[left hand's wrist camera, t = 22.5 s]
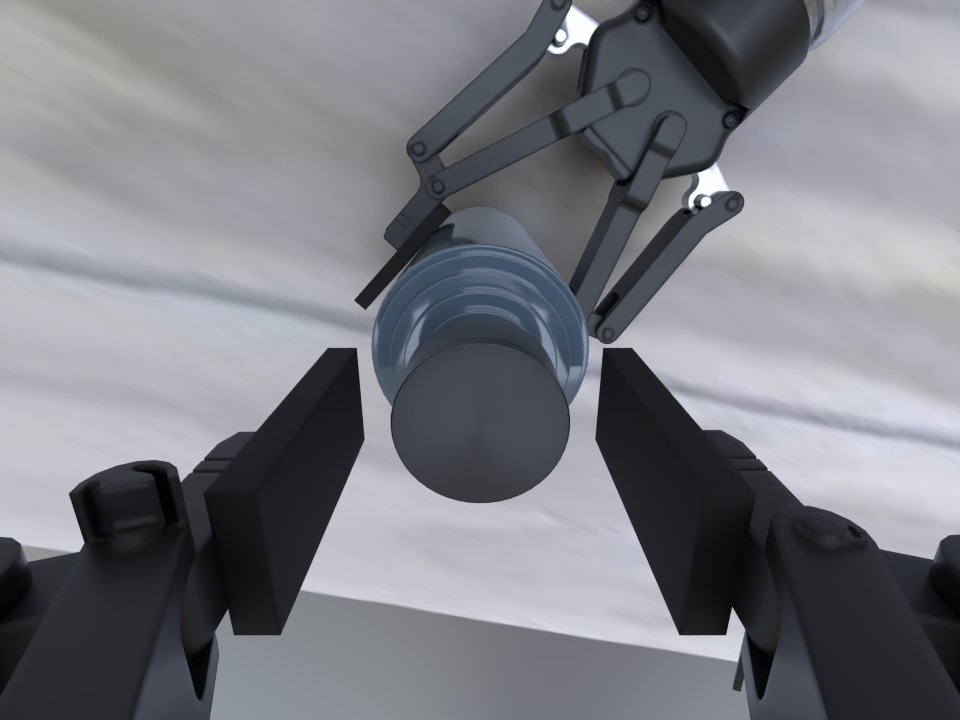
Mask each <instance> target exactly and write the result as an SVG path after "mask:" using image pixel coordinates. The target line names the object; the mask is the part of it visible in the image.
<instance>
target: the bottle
mask: <svg viewBox="0 0 960 720" xmlns="http://www.w3.org/2000/svg"><path fill="white" fill-rule="evenodd" d="M480 317H483V318H494V319H498V320H503V321H506V322H509V323H512V324H514V325H516V326H518V327H520V328H522V329H523V330H525V331H526V332H528V333H529V334H531V335H532V336H533V337H534V338H535V339H536V340H537V341H538V342H539V343H540V344H541V345H542V346H543V348H544V349H545V350H546V352H547V353H548V355H549V357H550V359H551V361H552V363H553V365H554V368H555V371H556V373H557V376H558V379H559V381H560V384H561V386H562V389H563V392H564V394H565V397H566V400H567V404H568V406H569V405H570V404H571V402H572V401H573V399H574V398H575V396H576V394H577V392H578V391H579V389H580V386H581V384H582V381H583V379H584V376H585V372H586V368H587V364H588V355H589V336H588V330H587V324H586V321H585V318H584V315H583V311H582V309H581V307H580V305H579V303H578V301H577V299H576V297H575V295H574V294H573V292H572V291H571V289H570V288H569V286H568V285H567V284H566V282H565V281H564V280H563V278H562V277H561V276H560V274H559V273H558V272H557V271H556V269H555V268H554V267H553V265H552V264H551V263H550V261H549V260H548V259H547V258H546V256H545V255H544V254H543V252H542V251H541V250H540V248H539V247H538V246H537V244H536V243H535V242H534V241H533V239H532V238H531V237H530V235H529V234H528V233H527V231H526V230H525V229H524V228H523V226H522V225H521V224H520V223H519V222H518V221H517V220H516V219H514V218H513V217H512V216H510V215H509V214H507V213H505V212H503V211H501V210H498V209H494V208H490V207H470V208H466V209H462V210H460V211H457V212H455V213H454V214H452V215H450V216H449V217H448V218H447V219H446V220H445V221H444V222H443V223H442V225H441V226H440V227H439V228H438V229H437V230H436V231H435V232H434V233H433V235H432V236H431V237H430V238H429V239H428V240H427V241H426V243H425V244H424V245H423V246H422V248H421V249H420V250H419V252H418V253H417V254H416V256H415V257H414V258H413V260H412V261H411V262H410V264H409V265H408V266H407V268H406V269H405V270H404V271H403V273H402V274H401V275H400V277H399V278H398V279H397V281H396V282H395V283H394V285H393V286H392V287H391V289H390V290H389V291H388V293H387V295H386V296H385V298H384V300H383V302H382V303H381V306H380V308H379V311H378V313H377V316H376V319H375V323H374V327H373V333H372V343H371V345H372V360H373V365H374V371H375V374H376V377H377V380H378V383H379V385H380V387H381V389H382V391H383V393H384V395H385V397H386V398H387V400H388V401H389V403H390V405H391V406H392V407H393V403H394V400H395V397H396V394H397V391H398V388H399V386H400V383H401V380H402V378H403V375H404V372H405V370H406V367H407V364H408V362H409V360H410V358H411V356H412V354H413V353H414V351H415V350H416V348H417V347H418V346H419V345H420V344H421V343H422V341H423V340H424V339H425V338H427V337H428V336H429V335H430V334H431V333H433V332H434V331H436V330H437V329H439V328H441V327H443V326H445V325H447V324H449V323H452V322H455V321H458V320H462V319H468V318H480Z"/></svg>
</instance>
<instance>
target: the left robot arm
mask: <svg viewBox="0 0 960 720" xmlns="http://www.w3.org/2000/svg"><path fill="white" fill-rule="evenodd" d="M363 442H364V427H363V415H362V404H361V392H360V381H359V369H358V358H357V348H328V349H327V350H326V351H325V352H324V353H323V354H322V356H321V357H320V358H319V359H318V360H317V361H316V363H315V364H314V365H313V366H312V367H311V368H310V370H309V371H308V372H307V373H306V374H305V375H304V377H303V378H302V379H301V380H300V381H299V382H298V384H297V385H296V386H295V387H294V388H293V389H292V391H291V392H290V393H289V394H288V395H287V396H286V398H285V399H284V400H283V401H282V402H281V403H280V405H279V406H278V407H277V408H276V409H275V410H274V412H273V413H272V414H271V415H270V416H269V417H268V419H267V420H266V421H265V422H264V423H263V424H262V426H261V427H260V428H259V429H258V430H257V431H256V432H238V433H236V434H235V435H233V436H231V437H229V438H228V439H226V440H224V441H222V442H221V443H219V444H217V445H216V447H215V448H214V449H213V450H212V451H211V452H210V453H209V454H208V455H207V456H206V457H205V458H204V461H201V462H200V463H199V464H198V465H197V466H196V467H195V468H194V469H193V473H190V474H189V475H188V476H187V477H186V478H185V479H184V480H183V481H182V482H181V483H180V479H179V474H178V470H177V468H176V467H175V466H174V465H172V464H171V463H169V462H164V461H158V460H148V461H136V462H132V463H127V464H123V465H118V466H115V467H112V468H110V469H107V470H104V471H102V472H99V473H97V474H95V475H93V476H91V477H90V478H88V479H86V480H84V481H83V482H81V483H79V484H78V485H77V486H76V487H75V488H74V489H73V490H72V491H71V492H70V493H69V496H70V499H71V502H72V505H73V508H74V511H75V515H76V518H77V521H78V524H79V527H80V530H81V533H82V536H83V539H84V542H85V543H84V545H83V547H82V549H81V551H80V552H77V553H72V554H67V555H62V556H57V557H52V558H47V559H42V560H37V561H32V562H27V560H26V557H25V555H24V552H23V549H22V547H21V544H20V543H19V542H17V541H16V540H14V539H13V538H6V537H0V720H210V713H211V707H212V700H213V693H214V686H215V679H216V672H217V666H218V659H219V650H218V642H217V638H216V634H215V631H216V629H217V627H218V625H219V624H220V622H221V620H222V618H223V617H224V615H225V613H226V611H227V610H228V609H229V614H230V619H231V623H232V628H233V633H234V635H281V633H282V630H283V628H284V625H285V623H286V621H287V619H288V616H289V614H290V612H291V609H292V607H293V605H294V602H295V600H296V598H297V595H298V593H299V591H300V588H301V586H302V584H303V581H304V579H305V577H306V574H307V572H308V570H309V567H310V565H311V563H312V560H313V558H314V556H315V553H316V551H317V549H318V547H319V544H320V542H321V540H322V537H323V535H324V533H325V530H326V528H327V526H328V523H329V521H330V519H331V516H332V514H333V512H334V509H335V507H336V505H337V502H338V500H339V498H340V495H341V493H342V491H343V488H344V486H345V484H346V481H347V479H348V477H349V474H350V472H351V470H352V467H353V465H354V463H355V460H356V458H357V456H358V453H359V451H360V449H361V446H362V444H363ZM596 442H597V444H598V446H599V449H600V451H601V453H602V456H603V458H604V460H605V463H606V465H607V467H608V470H609V472H610V474H611V477H612V479H613V481H614V484H615V486H616V488H617V491H618V493H619V495H620V498H621V500H622V502H623V505H624V507H625V509H626V512H627V514H628V516H629V519H630V521H631V523H632V526H633V528H634V530H635V533H636V535H637V537H638V540H639V542H640V544H641V547H642V549H643V551H644V553H645V556H646V558H647V560H648V563H649V565H650V567H651V570H652V572H653V574H654V577H655V579H656V581H657V584H658V586H659V588H660V591H661V593H662V595H663V598H664V600H665V602H666V605H667V607H668V609H669V612H670V614H671V616H672V619H673V621H674V623H675V626H676V628H677V630H678V633H679V635H726V633H727V628H728V623H729V619H730V614H731V610H732V607H733V609H734V610H735V612H736V614H737V616H738V617H739V619H740V621H741V623H742V624H743V626H744V628H745V634H744V638H743V642H742V647H741V651H740V655H739V660H738V664H737V668H736V673H735V677H734V684H733V690H736V691H741V687H742V683H743V679H745V685H746V692H747V698H748V705H749V712H750V719H751V720H960V535H949V536H948V537H946V538H945V539H943V540H941V541H940V544H939V547H938V549H937V552H936V555H935V557H934V560H931V559H926V558H921V557H916V556H911V555H906V554H901V553H896V552H891V551H886V550H882V549H879V548H878V546H877V544H876V542H875V541H874V540H873V539H872V538H871V537H870V535H869V534H868V533H867V532H866V531H865V530H864V529H862V528H861V527H859V526H858V525H856V524H855V523H853V522H852V521H850V520H849V519H846V518H844V517H842V516H840V515H837V514H835V513H833V512H831V511H827V510H823V509H819V508H815V507H812V506H804V505H803V504H802V503H801V502H800V501H799V500H798V499H797V498H796V497H795V496H794V495H793V494H792V493H791V492H790V491H789V490H788V489H787V488H786V487H785V486H784V485H783V484H782V483H781V482H780V481H779V479H778V478H777V477H776V476H775V475H774V474H773V473H772V472H771V471H768V470H767V467H766V466H765V465H764V464H763V463H762V462H761V461H760V460H759V459H756V456H755V455H754V454H753V453H752V452H751V451H750V449H749V448H748V447H747V446H746V445H745V444H744V443H743V442H741V441H739V440H738V439H736V438H734V437H732V436H731V435H729V434H727V433H725V432H723V431H722V430H702V429H701V428H700V427H699V426H698V424H697V423H696V422H695V421H694V420H693V419H692V417H691V416H690V415H689V414H688V413H687V412H686V410H685V409H684V408H683V407H682V406H681V405H680V403H679V402H678V401H677V400H676V399H675V398H674V396H673V395H672V394H671V393H670V392H669V391H668V389H667V388H666V387H665V386H664V385H663V384H662V382H661V381H660V380H659V379H658V378H657V377H656V375H655V374H654V373H653V372H652V371H651V370H650V368H649V367H648V366H647V365H646V364H645V363H644V361H643V360H642V359H641V358H640V357H639V356H638V354H637V353H636V352H635V351H634V350H633V349H632V348H603V358H602V369H601V381H600V392H599V404H598V415H597V427H596Z"/></svg>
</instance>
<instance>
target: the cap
mask: <svg viewBox="0 0 960 720" xmlns="http://www.w3.org/2000/svg"><path fill="white" fill-rule="evenodd" d="M569 431H570V415H569V407H568V404H567V400H566V397H565V394H564V392H563V389H562V386H561V384H560V381H559V379H558V376H557V373H556V371H555V368H554V365H553V363H552V361H551V359H550V357H549V355H548V353H547V352H546V350H545V349H544V348H543V346H542V345H541V344H540V343H539V342H538V341H537V340H536V339H535V338H534V337H533V336H532V335H531V334H529V333H528V332H526V331H525V330H523V329H522V328H520V327H518V326H516V325H514V324H512V323H509V322H506V321H503V320H498V319H494V318H483V317H480V318H468V319H462V320H458V321H455V322H452V323H449V324H447V325H445V326H443V327H441V328H439V329H437V330H436V331H434V332H433V333H431V334H430V335H429V336H428V337H427V338H425V339H424V340H423V341H422V343H421V344H420V345H419V346H418V347H417V348H416V350H415V351H414V353H413V354H412V356H411V358H410V360H409V362H408V364H407V367H406V370H405V372H404V375H403V378H402V380H401V383H400V386H399V388H398V391H397V394H396V397H395V400H394V403H393V407H392V412H391V433H392V438H393V442H394V446H395V448H396V451H397V453H398V455H399V457H400V459H401V461H402V462H403V464H404V466H405V467H406V468H407V469H408V471H409V472H410V473H411V474H412V475H413V476H414V477H415V478H416V479H417V480H418V481H419V482H421V483H422V484H423V485H425V486H426V487H427V488H429V489H431V490H432V491H434V492H436V493H438V494H440V495H443V496H445V497H447V498H451V499H454V500H458V501H463V502H469V503H491V502H498V501H503V500H507V499H510V498H513V497H516V496H518V495H521V494H523V493H525V492H527V491H528V490H530V489H532V488H533V487H535V486H536V485H538V484H539V483H540V482H541V481H542V480H544V479H545V478H546V477H547V476H548V475H549V474H550V473H551V471H552V470H553V469H554V468H555V466H556V465H557V463H558V462H559V460H560V459H561V457H562V454H563V452H564V450H565V448H566V444H567V441H568V437H569Z"/></svg>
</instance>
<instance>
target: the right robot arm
mask: <svg viewBox="0 0 960 720" xmlns="http://www.w3.org/2000/svg"><path fill="white" fill-rule="evenodd" d="M865 1H866V0H635V1H634V3H633V4H632V5H631V6H630V7H629V8H628V9H627V10H626V11H625V12H624V13H622V14H621V15H619V16H617V17H615V18H612V19H609V20H606V21H604V22H603V23H601V24H599V23H597V22H596V21H594V20H593V19H592V18H590V17H589V16H588V15H586V14H585V13H583V12H582V11H581V10H579V9H578V8H577V7H575V6H574V5H572V0H543V1H542V3H541V5H540V7H539V9H538V11H537V13H536V14H535V16H534V18H533V20H532V22H531V24H530V25H529V27H528V29H527V31H526V32H525V33H524V34H523V35H522V36H521V37H520V38H519V39H518V40H517V41H515V42H514V43H513V44H512V45H511V46H510V47H509V48H508V49H507V50H506V51H505V52H504V53H502V54H501V55H500V56H499V57H498V58H497V59H496V60H495V61H494V62H493V63H492V64H491V65H489V66H488V67H487V68H486V69H485V70H484V71H483V72H482V73H481V74H480V75H479V76H478V77H476V78H475V79H474V80H473V81H472V82H471V83H470V84H469V85H468V86H467V87H466V88H465V89H463V90H462V91H461V92H460V93H459V94H458V95H457V96H456V97H455V98H454V99H453V100H452V101H450V102H449V103H448V104H447V105H446V106H445V107H444V108H443V109H442V110H441V111H440V112H438V113H437V114H436V115H435V116H434V117H433V118H432V119H431V120H430V121H429V122H428V123H427V124H425V125H424V126H423V127H422V128H421V129H420V130H419V131H418V132H417V133H416V134H415V135H414V136H412V137H411V138H410V140H409V141H408V143H407V147H406V148H407V153H408V155H409V157H410V158H411V159H412V161H413V163H414V165H415V167H416V169H417V171H418V173H419V176H420V180H421V183H420V188H419V190H418V192H417V193H416V194H415V195H414V197H413V198H412V199H411V200H410V201H409V202H408V204H407V205H406V206H405V207H404V208H403V209H402V211H401V212H400V213H399V214H398V215H397V216H396V218H395V219H394V220H393V221H392V222H391V223H390V225H389V226H388V227H387V229H386V232H385V235H384V239H385V240H387V241H388V242H389V243H390V244H391V245H392V246H393V247H394V248H395V249H396V250H398V251H397V252H396V253H395V254H394V256H393V257H392V258H391V259H390V260H389V261H388V262H387V264H386V265H385V266H384V267H383V268H382V269H381V270H380V271H379V273H378V274H377V275H376V276H375V277H374V278H373V279H372V281H371V282H370V283H369V284H368V285H367V286H366V287H365V289H364V290H363V291H362V292H361V293H360V294H359V295H358V297H357V298H356V299H355V300H354V301H356V302H357V303H358V304H359V305H360V306H361V307H363V308H364V309H365V310H366V309H367V308H368V307H369V305H370V304H371V303H372V302H373V301H374V300H375V299H376V298H377V296H378V295H379V294H380V293H381V292H382V291H383V290H384V289H385V287H386V286H387V285H388V284H389V283H390V282H391V281H392V280H393V278H394V277H395V276H396V275H397V274H398V273H399V272H400V271H401V269H402V268H403V267H404V266H405V265H406V264H407V263H408V262H409V260H410V259H411V258H412V257H413V256H414V255H415V254H416V253H417V251H418V250H419V249H420V248H421V247H422V246H423V245H424V244H425V242H426V241H427V240H428V239H429V238H430V237H431V236H432V235H433V233H434V232H435V231H436V230H437V229H438V228H439V227H440V226H441V225H442V223H443V222H444V221H445V220H446V219H447V218H448V217H449V215H450V214H451V211H450V210H449V209H448V208H446V207H445V206H444V205H443V204H442V202H443V201H444V200H445V198H446V197H448V196H450V195H452V194H454V193H456V192H458V191H460V190H461V189H463V188H465V187H467V186H469V185H471V184H473V183H475V182H477V181H479V180H481V179H483V178H485V177H487V176H489V175H491V174H493V173H495V172H497V171H499V170H501V169H503V168H505V167H507V166H509V165H511V164H513V163H515V162H517V161H519V160H521V159H523V158H525V157H527V156H529V155H531V154H533V153H535V152H537V151H539V150H541V149H543V148H545V147H547V146H549V145H551V144H553V143H554V142H556V141H558V140H560V139H563V138H565V137H567V136H569V135H571V134H573V133H575V132H576V133H577V134H576V135H575V136H576V137H577V138H578V140H579V141H580V142H581V143H582V144H583V145H584V146H585V147H587V148H588V149H590V150H591V151H593V152H595V153H596V154H598V155H599V157H600V159H601V161H602V163H603V165H604V167H605V169H606V170H607V171H608V172H609V173H610V174H611V175H612V177H613V178H614V179H615V182H614V184H613V186H612V188H611V191H610V193H609V196H608V202H607V204H606V206H605V208H604V211H603V213H602V215H601V217H600V219H599V221H598V223H597V226H596V228H595V230H594V232H593V234H592V236H591V238H590V240H589V243H588V245H587V247H586V249H585V251H584V253H583V255H582V258H581V260H580V262H579V264H578V266H577V268H576V270H575V273H574V275H573V277H572V279H571V281H570V283H569V285H568V286H569V288H570V289H571V291H572V292H573V294H574V295H575V297H576V299H577V301H578V303H579V305H580V307H581V309H582V311H583V315H584V318H585V321H586V324H587V330H588V335H589V336H591V337H594V338H596V339H598V340H599V341H600V342H602V343H604V344H610V343H613V342H614V341H615V340H617V338H618V337H619V336H620V335H621V334H622V333H623V331H624V330H625V329H626V328H627V327H628V325H629V324H630V323H631V322H632V321H633V320H634V318H635V317H636V316H637V315H638V314H639V313H640V311H641V310H642V309H643V308H644V307H645V305H646V304H647V303H648V302H649V301H650V300H651V298H652V297H653V296H654V295H655V294H656V293H657V291H658V290H659V289H660V288H661V287H662V285H663V284H664V283H665V282H666V281H667V280H668V278H669V277H670V276H671V275H672V274H673V273H674V271H675V270H676V269H677V268H678V267H679V265H680V264H681V263H682V262H683V261H684V260H685V258H686V257H687V256H688V255H689V254H690V253H691V251H692V250H693V249H694V248H695V247H696V246H697V244H698V243H699V242H700V241H701V240H702V238H703V237H704V236H705V235H706V234H707V233H709V232H710V231H712V230H713V229H715V228H717V227H718V226H720V225H721V224H723V223H724V222H726V221H728V220H729V219H731V218H732V217H734V216H735V215H737V214H738V213H739V212H740V211H741V210H742V208H743V206H744V198H743V196H742V195H741V194H740V193H739V192H736V191H730V190H729V188H728V186H727V184H726V182H725V180H724V178H723V176H722V174H721V172H720V170H719V168H718V166H717V164H716V161H717V160H718V158H719V157H720V155H721V152H722V149H723V147H724V144H725V142H726V140H727V139H728V137H729V136H730V134H731V133H732V132H733V131H734V130H735V129H736V128H737V127H738V126H739V125H740V124H741V123H742V122H743V121H744V120H745V119H746V118H747V117H748V116H749V115H750V114H751V113H752V112H753V111H754V110H755V109H756V108H758V107H759V106H760V105H761V104H762V103H763V102H764V101H765V100H766V99H767V98H768V97H769V96H770V95H771V94H772V93H773V92H774V91H775V90H776V89H777V88H778V87H779V86H780V85H781V84H782V83H783V82H784V81H785V80H786V79H787V78H788V77H789V76H790V75H791V74H792V73H793V72H794V71H795V70H796V69H797V68H798V67H799V66H800V65H801V64H802V63H803V61H804V60H805V58H806V55H807V53H808V51H810V50H813V49H816V48H818V47H819V46H820V45H821V44H823V43H824V42H825V41H826V40H827V39H828V38H829V37H830V36H831V35H832V34H833V33H834V32H835V31H836V30H837V29H838V28H839V27H840V26H841V25H842V24H843V23H844V22H845V21H846V20H847V19H848V18H849V17H850V16H851V15H852V14H853V13H854V12H855V11H856V10H857V9H858V8H859V7H860V6H861V5H862V4H863V3H864V2H865ZM574 47H579V48H581V49H583V50H584V52H583V58H582V63H581V69H580V75H579V81H578V87H577V93H576V98H575V101H574V102H572V103H571V104H569V105H567V106H565V107H563V108H561V109H559V110H557V111H555V112H554V113H552V114H550V115H548V116H546V117H544V118H542V119H540V120H538V121H536V122H534V123H532V124H531V125H529V126H527V127H525V128H523V129H521V130H519V131H517V132H515V133H513V134H511V135H509V136H507V137H505V138H503V139H501V140H499V141H497V142H496V143H494V144H492V145H490V146H488V147H486V148H484V149H482V150H480V151H478V152H476V153H474V154H472V155H470V156H468V157H466V158H464V159H463V160H461V161H459V162H457V163H455V164H453V165H451V166H449V167H447V168H445V167H444V165H443V163H442V161H441V159H440V157H439V155H438V154H439V153H441V152H442V151H443V150H444V149H445V148H446V147H447V146H448V145H449V144H451V143H452V142H453V141H454V140H455V139H456V138H457V137H458V136H459V135H461V134H462V133H463V132H464V131H465V130H466V129H467V128H468V127H469V126H471V125H472V124H473V123H474V122H475V121H476V120H477V119H478V118H479V117H481V116H482V115H483V114H484V113H485V112H486V111H487V110H488V109H489V108H491V107H492V106H493V105H494V104H495V103H496V102H497V101H498V100H499V99H501V98H502V97H503V96H504V95H505V94H506V93H507V92H508V91H509V90H511V89H512V88H513V87H514V86H515V85H516V84H517V83H518V82H520V81H521V80H522V79H523V78H524V77H525V76H526V75H527V74H528V73H529V72H530V71H531V70H532V69H533V68H534V67H535V66H536V65H537V64H538V63H539V62H540V60H541V59H542V58H543V56H544V55H545V54H546V55H547V56H549V57H551V58H559V57H561V56H563V55H564V54H565V53H566V52H567V51H568V50H569V49H571V48H574ZM690 174H691V176H692V184H691V186H690V188H689V189H688V190H687V191H686V192H685V194H684V195H683V197H682V206H683V207H682V208H681V209H680V210H678V211H677V212H676V213H675V214H674V215H673V216H672V217H671V218H670V219H669V220H668V221H667V222H666V223H665V225H664V226H663V227H662V228H661V230H660V231H659V232H658V233H657V234H656V236H655V237H654V238H653V239H652V241H651V242H650V243H649V244H648V245H647V247H646V248H645V249H644V250H643V252H642V253H641V254H640V255H639V256H638V258H637V259H636V260H635V261H634V263H633V264H632V265H631V266H630V267H629V269H628V270H627V271H626V272H625V274H624V275H623V276H622V277H621V278H620V280H619V281H618V282H617V283H616V285H615V286H614V287H613V288H612V289H611V291H610V292H609V293H608V294H607V296H606V297H605V298H604V299H603V300H602V302H601V303H600V304H599V305H598V307H597V308H596V309H595V310H594V308H595V306H596V304H597V301H598V299H599V297H600V295H601V293H602V291H603V289H604V287H605V285H606V283H607V281H608V279H609V277H610V275H611V273H612V271H613V269H614V267H615V265H616V263H617V261H618V259H619V257H620V255H621V253H622V251H623V249H624V247H625V245H626V243H627V241H628V239H629V237H630V234H631V232H632V230H633V228H634V226H635V224H636V222H637V220H638V218H639V216H640V214H641V213H642V212H643V211H644V210H645V209H646V208H647V206H648V205H649V203H650V201H651V199H652V197H653V195H654V193H655V191H656V189H657V187H658V185H659V183H660V181H661V180H665V179H670V178H675V177H680V176H685V175H690Z"/></svg>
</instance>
